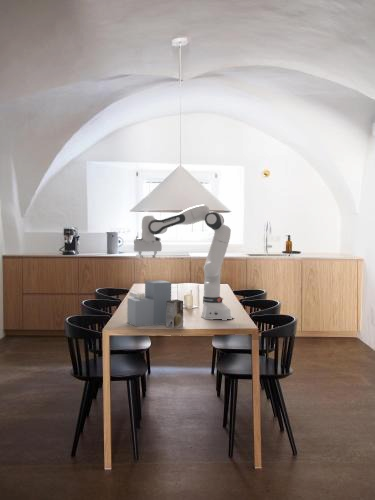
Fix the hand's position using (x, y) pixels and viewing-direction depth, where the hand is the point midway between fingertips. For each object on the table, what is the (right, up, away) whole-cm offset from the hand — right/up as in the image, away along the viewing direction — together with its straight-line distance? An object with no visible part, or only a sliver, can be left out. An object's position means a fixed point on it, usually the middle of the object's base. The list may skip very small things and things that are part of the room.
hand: (147, 257), depth 345 cm
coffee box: (+20, -42, -46) cm, 65 cm away
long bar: (-4, -25, -33) cm, 41 cm away
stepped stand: (+4, -41, -35) cm, 53 cm away
